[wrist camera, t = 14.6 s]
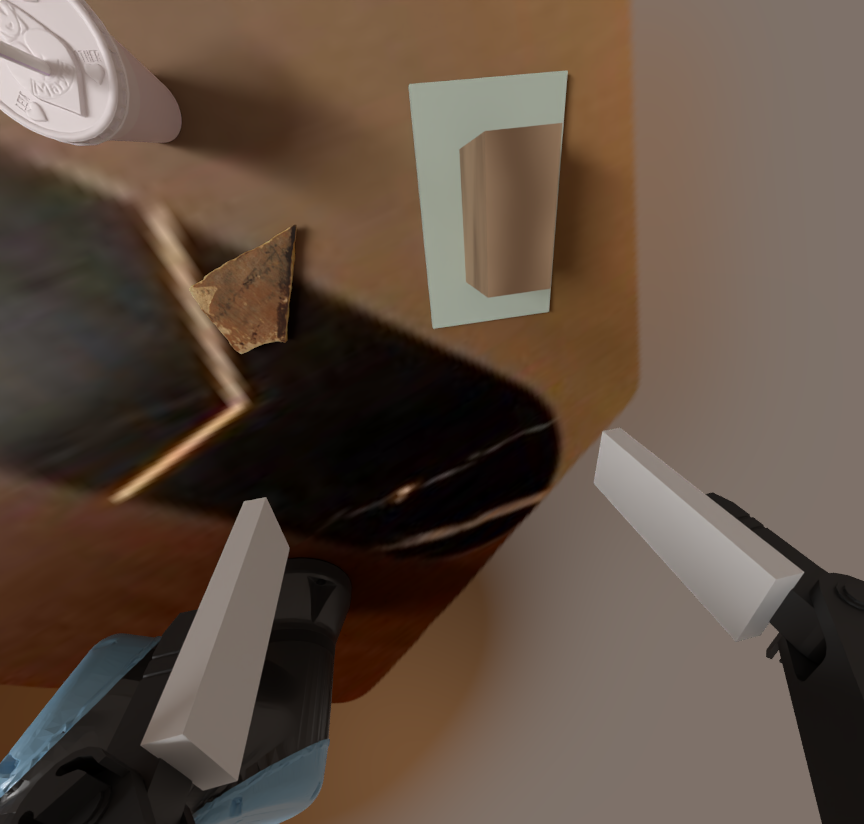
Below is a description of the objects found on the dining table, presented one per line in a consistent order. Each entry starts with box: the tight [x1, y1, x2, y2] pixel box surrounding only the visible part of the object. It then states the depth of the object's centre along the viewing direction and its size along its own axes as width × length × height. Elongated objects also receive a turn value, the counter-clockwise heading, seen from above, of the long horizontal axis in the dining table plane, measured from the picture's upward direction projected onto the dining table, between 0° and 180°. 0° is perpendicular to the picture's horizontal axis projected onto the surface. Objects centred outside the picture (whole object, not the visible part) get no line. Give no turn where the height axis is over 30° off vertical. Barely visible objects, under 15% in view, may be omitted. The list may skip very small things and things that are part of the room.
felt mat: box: [409, 71, 568, 329], centre depth 30 cm, size 18×12×1 cm, turn 6°
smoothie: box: [0, 0, 182, 146], centre depth 18 cm, size 6×6×14 cm
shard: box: [189, 225, 297, 354], centre depth 30 cm, size 11×8×2 cm
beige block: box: [459, 123, 562, 298], centre depth 27 cm, size 5×10×7 cm, turn 6°
